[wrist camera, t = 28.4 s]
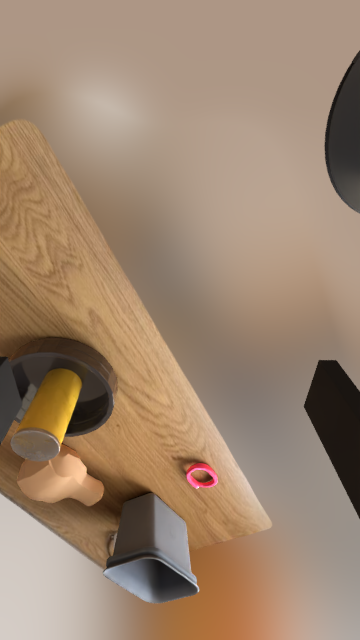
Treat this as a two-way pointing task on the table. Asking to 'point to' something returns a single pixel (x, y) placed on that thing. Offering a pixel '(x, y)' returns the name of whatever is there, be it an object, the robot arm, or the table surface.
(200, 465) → the fitness band
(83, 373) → the pan
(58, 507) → the table surface
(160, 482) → the table surface
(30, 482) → the squash
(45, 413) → the corn can
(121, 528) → the storage bin
